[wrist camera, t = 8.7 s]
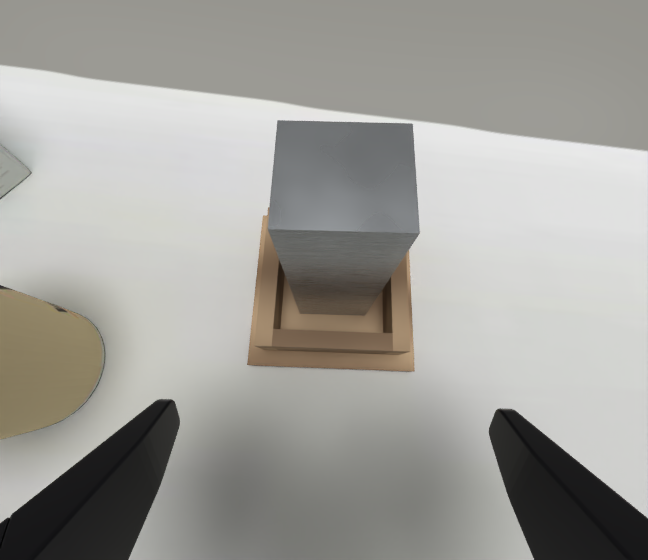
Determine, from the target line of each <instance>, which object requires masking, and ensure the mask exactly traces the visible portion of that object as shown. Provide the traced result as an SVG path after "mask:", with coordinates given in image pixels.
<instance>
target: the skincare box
mask: <svg viewBox="0 0 648 560" xmlns="http://www.w3.org/2000/svg"><path fill="white" fill-rule="evenodd" d="M30 173H31V172H30V171H29V170H28V168H27V167H26V166H24V165H23V164H22V163H21V162H20V161H19V160H18V159H17V158H16V157H14V156H13V155H12V154H11V153H10V152H9V151H7V150H6V149H5V148H4V147H3V146H2V145H0V198H1V197H2V196H3V195H4V194H6V193H7V192H8V191H10V190H11V189H12V188H14V187H15V186H16V185H17V184H19V183H20V182H21V181H22V180H24V179H25V178H26V177H27V176H28V175H30Z"/></svg>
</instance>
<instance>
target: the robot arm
mask: <svg viewBox="0 0 648 560" xmlns="http://www.w3.org/2000/svg"><path fill="white" fill-rule="evenodd" d="M179 425H180V418H179V415H178V411H177V408H176V404H175V402H174V401H173V400H171V399H159V400H157V401H155V402H154V403H153V404H151V405H150V406H149V407H147V408H146V409H145V410H144V411H142V412H141V413H140V414H139V415H137V416H136V417H135V418H133V419H132V420H131V421H130V422H128V423H127V424H126V425H125V426H123V427H122V428H121V429H120V430H118V431H117V432H116V433H114V434H113V435H112V436H111V437H109V438H108V439H107V440H106V441H104V442H103V443H102V444H100V445H99V446H98V447H97V448H95V449H94V450H93V451H92V452H90V453H89V454H88V455H87V456H85V457H84V458H83V459H81V460H80V461H79V462H78V463H76V464H75V465H74V466H73V467H71V468H70V469H69V470H67V471H66V472H65V473H64V474H62V475H61V476H60V477H59V478H57V479H56V480H55V481H54V482H52V483H51V484H50V485H48V486H47V487H46V488H45V489H43V490H42V491H41V492H40V493H38V494H37V495H36V496H34V497H33V498H32V499H31V500H29V501H28V502H27V503H26V504H24V505H23V506H22V507H20V508H19V509H18V510H17V511H15V512H14V513H13V514H12V515H11V517H10V518H6V519H5V520H4V521H3V522H1V523H0V560H128V559H129V557H130V554H131V552H132V550H133V547H134V545H135V543H136V540H137V538H138V536H139V533H140V531H141V529H142V527H143V524H144V522H145V520H146V517H147V515H148V513H149V510H150V508H151V506H152V503H153V501H154V499H155V497H156V494H157V492H158V489H159V487H160V484H161V481H162V479H163V476H164V473H165V470H166V466H167V463H168V460H169V457H170V454H171V451H172V448H173V445H174V442H175V439H176V436H177V432H178V429H179ZM489 436H490V440H491V443H492V446H493V449H494V453H495V456H496V459H497V462H498V466H499V469H500V472H501V475H502V478H503V482H504V485H505V488H506V491H507V494H508V497H509V499H510V502H511V505H512V507H513V509H514V512H515V514H516V517H517V519H518V522H519V524H520V526H521V529H522V531H523V534H524V536H525V538H526V541H527V543H528V546H529V548H530V550H531V553H532V555H533V558H534V560H648V518H647V517H646V516H644V515H643V514H642V513H641V512H639V511H638V510H637V509H636V508H634V507H633V506H632V505H631V504H630V503H628V502H627V501H626V500H625V499H623V498H622V497H621V496H620V495H618V494H617V493H616V492H615V491H614V490H612V489H611V488H610V487H609V486H607V485H606V484H605V483H604V482H602V481H601V480H600V479H599V478H598V477H596V476H595V475H594V474H593V473H591V472H590V471H589V470H588V469H586V468H585V467H584V466H583V465H582V464H580V463H579V462H578V461H577V460H575V459H574V458H573V457H572V456H571V455H569V454H568V453H567V452H566V451H564V450H563V449H562V448H561V447H559V446H558V445H557V444H556V443H555V442H553V441H552V440H551V439H550V438H548V437H547V436H546V435H545V434H543V433H542V432H541V431H540V430H539V429H537V428H536V427H535V426H534V425H532V424H531V423H530V422H529V421H527V420H526V419H525V418H524V417H523V416H521V415H520V414H519V413H518V412H516V411H515V410H513V409H497V410H496V412H495V414H494V417H493V419H492V422H491V425H490V427H489Z"/></svg>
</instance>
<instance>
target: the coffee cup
mask: <svg viewBox="0 0 648 560" xmlns="http://www.w3.org/2000/svg"><path fill="white" fill-rule="evenodd" d="M104 358H105V352H104V345H103V341H102V338H101V335H100V334H99V332H98V330H97V329H96V327H95V326H94V325H93V324H92V323H91V322H90V321H89V320H88V319H86V318H85V317H83V316H81V315H79V314H77V313H74V312H72V311H69V310H67V309H64V308H62V307H59V306H56V305H53V304H51V303H48V302H45V301H42V300H40V299H37V298H34V297H31V296H29V295H26V294H23V293H20V292H17V291H15V290H12V289H9V288H6V287H4V286H1V285H0V439H4V438H8V437H11V436H15V435H19V434H23V433H27V432H30V431H34V430H37V429H40V428H44V427H47V426H50V425H52V424H55V423H57V422H59V421H62V420H63V419H65V418H67V417H69V416H70V415H71V414H73V413H74V412H75V411H77V410H78V409H79V408H80V407H81V406H82V405H83V404H84V403H85V402H86V401H87V400H88V398H89V397H90V396H91V394H92V393H93V391H94V389H95V388H96V386H97V384H98V382H99V380H100V377H101V374H102V371H103V366H104Z"/></svg>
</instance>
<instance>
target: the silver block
mask: <svg viewBox="0 0 648 560" xmlns="http://www.w3.org/2000/svg"><path fill="white" fill-rule="evenodd" d="M268 231H269V234H270V237H271V239H272V242H273V245H274V247H275V250H276V252H277V255H278V258H279V260H280V263H281V265H282V268H283V271H284V273H285V276H286V278H287V281H288V284H289V286H290V289H291V291H292V294H293V297H294V299H295V302H296V304H297V307H298V310H299V312H300V314H328V315H361V316H365V315H366V314H367V312H368V311H369V309H370V308H371V306H372V305H373V303H374V301H375V300H376V298H377V297H378V295H379V294H380V292H381V291H382V289H383V288H384V286H385V285H386V283H387V282H388V280H389V279H390V277H391V276H392V274H393V273H394V271H395V270H396V268H397V267H398V265H399V264H400V262H401V261H402V259H403V258H404V256H405V255H406V253H407V252H408V250H409V249H410V247H411V246H412V244H413V243H414V241H415V240H416V238H417V237H418V235H419V234H420V230H419V215H418V200H417V184H416V169H415V153H414V138H413V124H404V123H362V122H320V121H278V122H277V132H276V143H275V154H274V165H273V176H272V187H271V197H270V208H269V219H268Z"/></svg>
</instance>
